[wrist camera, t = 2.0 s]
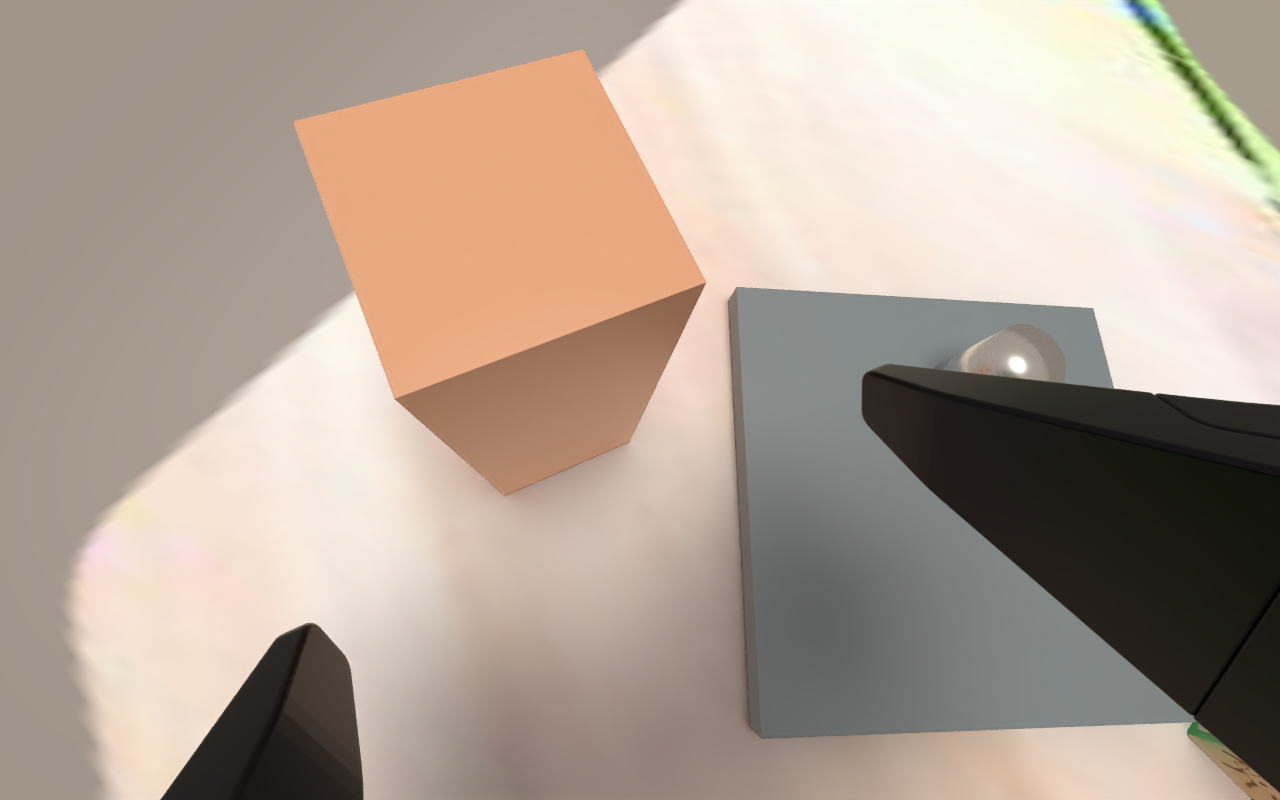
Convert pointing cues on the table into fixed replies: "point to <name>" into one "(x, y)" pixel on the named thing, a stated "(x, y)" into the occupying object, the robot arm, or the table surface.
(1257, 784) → the stack of blocks
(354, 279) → the tall peach square pillar
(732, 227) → the table surface
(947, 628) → the slate board
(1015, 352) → the steel post
